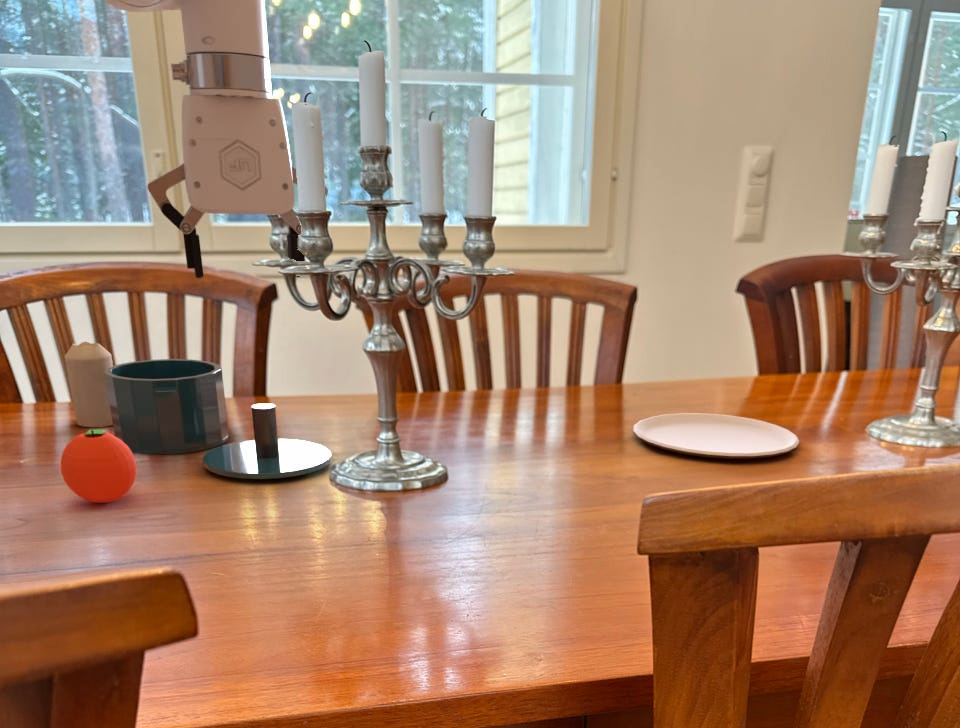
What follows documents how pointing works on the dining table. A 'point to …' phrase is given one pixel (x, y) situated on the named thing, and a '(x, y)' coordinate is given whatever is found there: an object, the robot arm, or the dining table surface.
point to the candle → (89, 383)
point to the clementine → (98, 466)
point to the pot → (167, 405)
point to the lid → (266, 452)
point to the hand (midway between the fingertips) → (247, 276)
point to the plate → (716, 436)
